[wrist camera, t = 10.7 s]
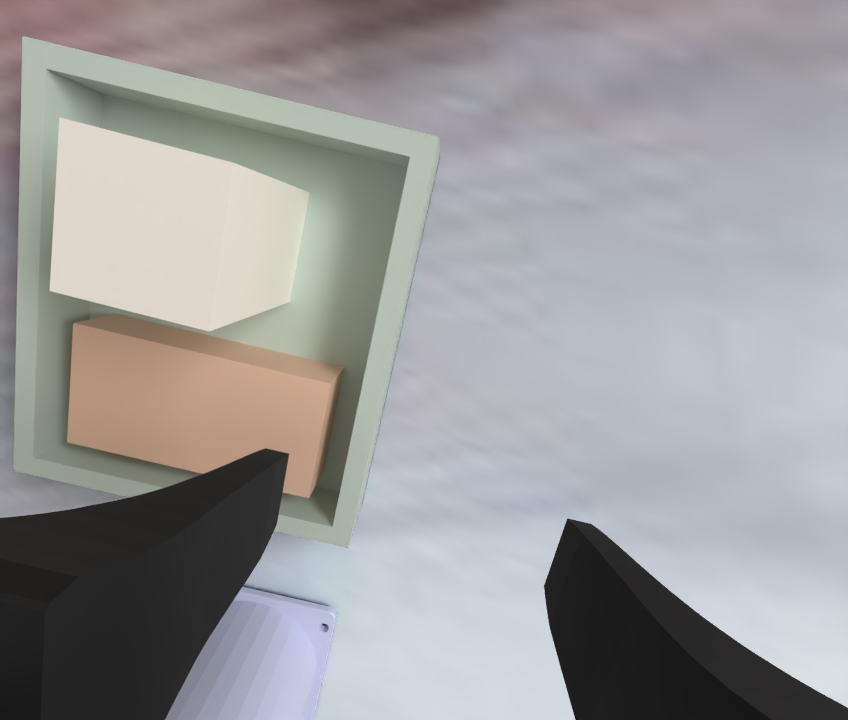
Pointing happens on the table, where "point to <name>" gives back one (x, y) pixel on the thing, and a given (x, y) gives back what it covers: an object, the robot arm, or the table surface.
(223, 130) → the tote
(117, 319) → the cracker box
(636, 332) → the table surface
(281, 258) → the carton
